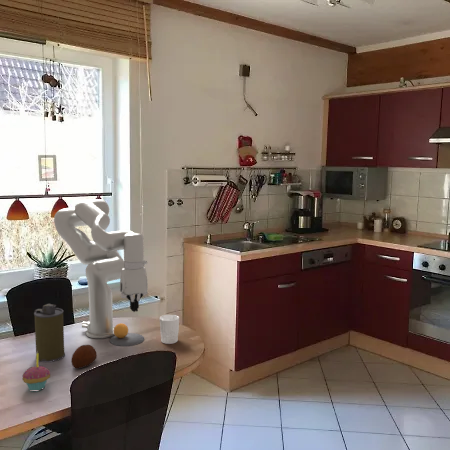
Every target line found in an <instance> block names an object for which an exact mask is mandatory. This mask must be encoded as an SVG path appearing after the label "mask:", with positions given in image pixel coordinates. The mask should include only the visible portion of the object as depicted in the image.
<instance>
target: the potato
mask: <svg viewBox="0 0 450 450" xmlns="http://www.w3.org/2000/svg"><path fill="white" fill-rule="evenodd" d="M97 358H98V353H97V351H96V348H95V347H94V346H93V345H90V344H85V345H80V346H78V347H77V348H76V349H75V350H74V352H73V353H72V356H71V365H72V367H73V368H74V369H83V368H85V367H86V368H87V367H88V366H90V365H92V364H93V363H94V362H95V361H96V360H97Z"/></svg>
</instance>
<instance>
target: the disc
mask: <svg viewBox="0 0 450 450" xmlns="http://www.w3.org/2000/svg"><path fill="white" fill-rule="evenodd" d="M144 341H145V336H144V335H142V334H140V333H132V332H128V334H127V335H126V336H125V337H124V338H118V337H116V336H115V335H113V336H111V337H110V339H109V343H110V344H112V345H114V346H118V347H131V346H136V345H139V344H141V343H143V342H144Z"/></svg>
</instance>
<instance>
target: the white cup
mask: <svg viewBox="0 0 450 450" xmlns="http://www.w3.org/2000/svg"><path fill="white" fill-rule="evenodd" d="M159 328H160V329H159V331H160V340H161V343H163V344H166V345H170V344H172V345H173V344H175V343H177V342H178V340H179V339H178V337H179V331H180V330H179V329H180V316H178V315H176V314H162V315H160V316H159Z"/></svg>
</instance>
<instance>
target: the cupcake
mask: <svg viewBox="0 0 450 450" xmlns="http://www.w3.org/2000/svg"><path fill="white" fill-rule="evenodd" d="M35 359H36V360H35V361H36V365H35V366H31V367H29V368H27V369H26V370H25V371H24V372H23V374H22V381H23V383H24V384H26V385H27V389H28V390H29V391H30V390H40V389H42V388H44V389H45V387H46V383H47V381H48V380H49V379H50V378H51V372H50V369H49V368H48V367H46V366H43V365H42V366H41V365H39V362H40V361H39V353H38V351H37V354H36V353H35ZM40 391H41V390H40Z"/></svg>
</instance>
